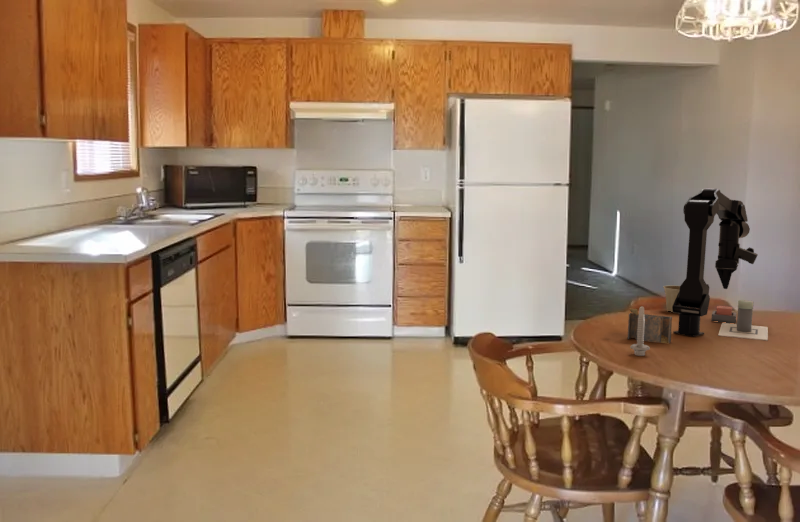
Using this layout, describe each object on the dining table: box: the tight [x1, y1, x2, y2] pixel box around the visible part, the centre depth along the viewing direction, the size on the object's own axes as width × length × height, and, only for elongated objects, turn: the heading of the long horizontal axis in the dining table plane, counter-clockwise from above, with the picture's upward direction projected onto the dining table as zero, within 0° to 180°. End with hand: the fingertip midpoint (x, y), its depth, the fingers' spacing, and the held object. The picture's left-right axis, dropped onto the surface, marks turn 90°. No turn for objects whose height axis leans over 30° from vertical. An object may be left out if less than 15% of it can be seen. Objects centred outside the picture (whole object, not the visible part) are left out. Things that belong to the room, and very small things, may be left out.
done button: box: [716, 305, 733, 315], centre depth 229 cm, size 4×4×2 cm
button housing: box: [711, 310, 737, 324], centre depth 230 cm, size 7×7×2 cm
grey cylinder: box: [736, 299, 754, 332], centre depth 213 cm, size 4×4×9 cm
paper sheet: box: [717, 323, 769, 342], centre depth 214 cm, size 20×13×1 cm, turn 153°
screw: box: [629, 306, 650, 357], centre depth 183 cm, size 13×5×5 cm
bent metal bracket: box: [627, 307, 673, 345], centre depth 200 cm, size 11×3×10 cm, turn 60°
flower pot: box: [662, 284, 681, 313], centre depth 245 cm, size 9×9×9 cm
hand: (725, 287), depth 228 cm, fingers open, 6 cm apart
